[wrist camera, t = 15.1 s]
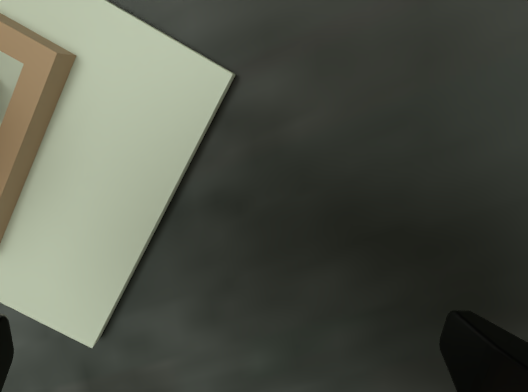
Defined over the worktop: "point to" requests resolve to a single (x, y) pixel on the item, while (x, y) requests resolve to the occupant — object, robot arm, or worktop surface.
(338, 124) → the worktop surface
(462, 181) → the worktop surface
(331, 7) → the worktop surface
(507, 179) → the worktop surface
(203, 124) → the seat plate
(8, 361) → the robot arm
